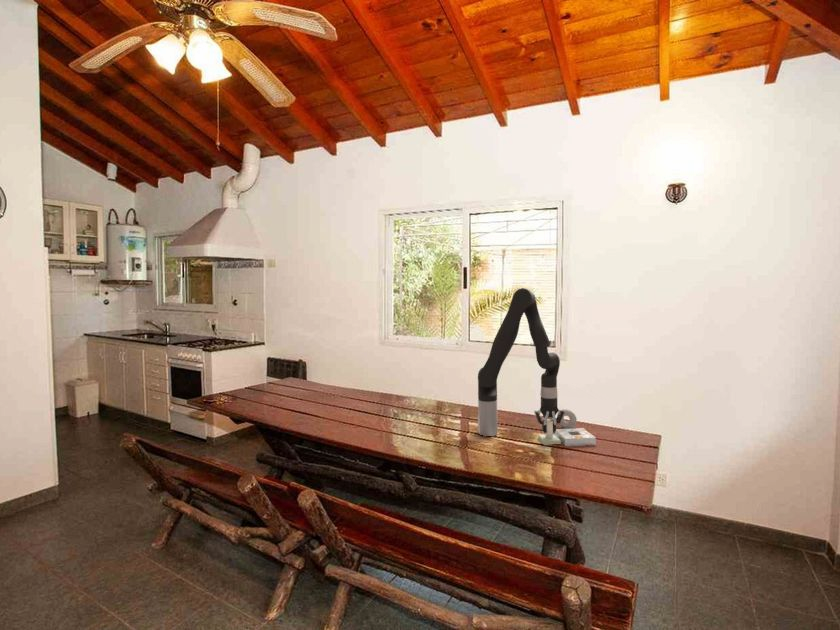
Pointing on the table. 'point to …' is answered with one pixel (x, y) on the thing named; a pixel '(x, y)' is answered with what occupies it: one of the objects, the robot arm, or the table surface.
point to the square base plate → (549, 441)
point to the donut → (571, 417)
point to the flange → (575, 437)
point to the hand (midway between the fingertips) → (549, 432)
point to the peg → (549, 429)
